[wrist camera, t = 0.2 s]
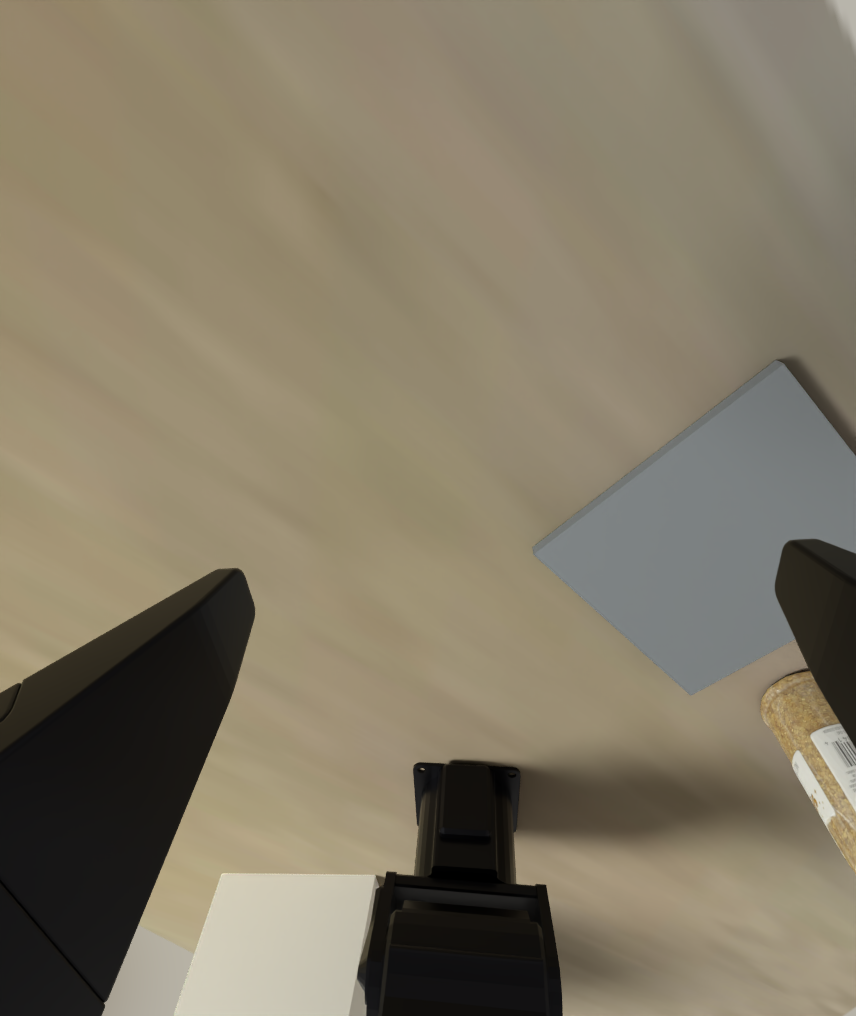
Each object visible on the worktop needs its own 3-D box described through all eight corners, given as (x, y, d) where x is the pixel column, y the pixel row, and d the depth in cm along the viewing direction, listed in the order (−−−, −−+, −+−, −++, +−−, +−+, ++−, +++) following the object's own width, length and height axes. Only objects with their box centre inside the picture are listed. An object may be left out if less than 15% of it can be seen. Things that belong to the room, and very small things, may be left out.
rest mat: (927, 553, 24) (937, 561, 23) (686, 686, 28) (690, 695, 28) (776, 359, 20) (783, 363, 20) (532, 547, 25) (533, 554, 25)
